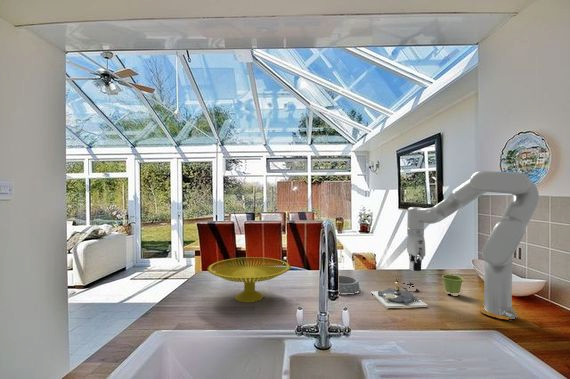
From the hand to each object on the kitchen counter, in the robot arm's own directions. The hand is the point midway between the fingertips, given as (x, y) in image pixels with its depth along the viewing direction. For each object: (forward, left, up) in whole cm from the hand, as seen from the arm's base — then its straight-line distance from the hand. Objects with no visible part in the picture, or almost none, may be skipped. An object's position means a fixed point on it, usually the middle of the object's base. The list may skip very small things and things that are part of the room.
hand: (415, 269), depth 148 cm
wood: (+16, -3, -14) cm, 22 cm away
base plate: (-5, +11, -13) cm, 18 cm away
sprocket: (-5, +11, -12) cm, 17 cm away
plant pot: (+1, -20, -14) cm, 24 cm away
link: (0, 0, 0) cm, 0 cm away
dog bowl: (+13, +33, -14) cm, 38 cm away
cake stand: (+5, +81, -14) cm, 82 cm away
